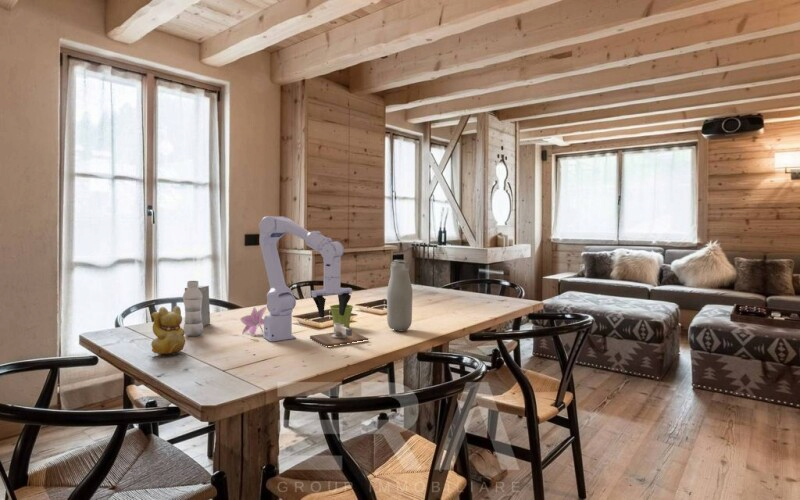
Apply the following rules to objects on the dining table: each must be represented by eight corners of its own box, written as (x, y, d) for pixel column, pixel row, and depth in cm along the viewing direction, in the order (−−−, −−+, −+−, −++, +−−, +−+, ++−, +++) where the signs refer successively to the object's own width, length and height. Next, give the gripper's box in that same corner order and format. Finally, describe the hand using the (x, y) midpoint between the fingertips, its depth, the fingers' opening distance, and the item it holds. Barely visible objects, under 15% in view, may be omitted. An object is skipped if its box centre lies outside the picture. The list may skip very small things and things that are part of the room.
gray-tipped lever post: (345, 336, 158) (345, 328, 158) (332, 330, 166) (332, 323, 166) (354, 335, 160) (354, 327, 160) (341, 329, 168) (341, 322, 168)
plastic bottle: (196, 338, 165) (195, 282, 164) (179, 337, 166) (178, 282, 165) (207, 334, 171) (206, 280, 170) (190, 333, 173) (190, 279, 171)
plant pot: (341, 331, 179) (341, 309, 179) (324, 328, 185) (324, 306, 184) (358, 327, 187) (358, 306, 186) (341, 324, 192) (341, 303, 192)
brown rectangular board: (327, 347, 156) (327, 339, 156) (310, 339, 167) (310, 330, 167) (368, 341, 165) (368, 333, 165) (349, 333, 176) (349, 325, 176)
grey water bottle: (412, 328, 187) (413, 258, 185) (410, 334, 177) (411, 261, 175) (388, 327, 188) (389, 258, 186) (384, 333, 178) (385, 260, 176)
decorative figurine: (179, 348, 152) (178, 303, 151) (191, 353, 147) (191, 306, 146) (148, 355, 144) (147, 307, 143) (159, 360, 139) (159, 311, 138)
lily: (240, 332, 179) (231, 313, 174) (268, 318, 184) (261, 299, 179) (250, 349, 170) (241, 329, 165) (279, 333, 175) (272, 314, 170)
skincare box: (202, 328, 181) (201, 287, 180) (183, 327, 181) (183, 287, 180) (211, 323, 190) (210, 284, 189) (193, 322, 190) (193, 284, 189)
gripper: (317, 279, 151) (317, 320, 152) (356, 276, 160) (356, 315, 161) (308, 277, 157) (308, 316, 158) (346, 274, 165) (346, 312, 166)
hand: (331, 316), depth 160 cm, fingers open, 7 cm apart
